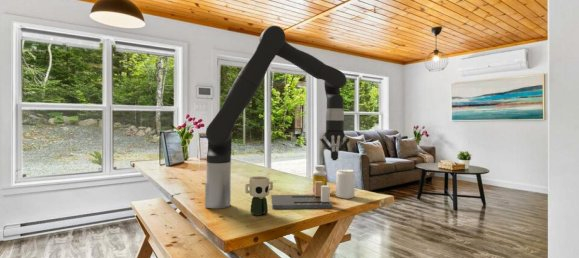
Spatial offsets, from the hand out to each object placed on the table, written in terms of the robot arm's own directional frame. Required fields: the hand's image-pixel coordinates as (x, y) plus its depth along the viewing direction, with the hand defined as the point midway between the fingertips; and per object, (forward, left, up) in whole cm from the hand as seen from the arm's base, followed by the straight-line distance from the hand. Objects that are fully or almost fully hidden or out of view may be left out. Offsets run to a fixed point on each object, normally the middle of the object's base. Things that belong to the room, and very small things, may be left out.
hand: (334, 160), depth 129 cm
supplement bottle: (-4, +13, -17) cm, 22 cm away
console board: (-15, -4, -17) cm, 23 cm away
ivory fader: (-6, -9, -15) cm, 18 cm away
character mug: (-32, -18, -17) cm, 40 cm away
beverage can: (+6, +5, -17) cm, 19 cm away
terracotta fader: (-7, 0, -15) cm, 17 cm away
